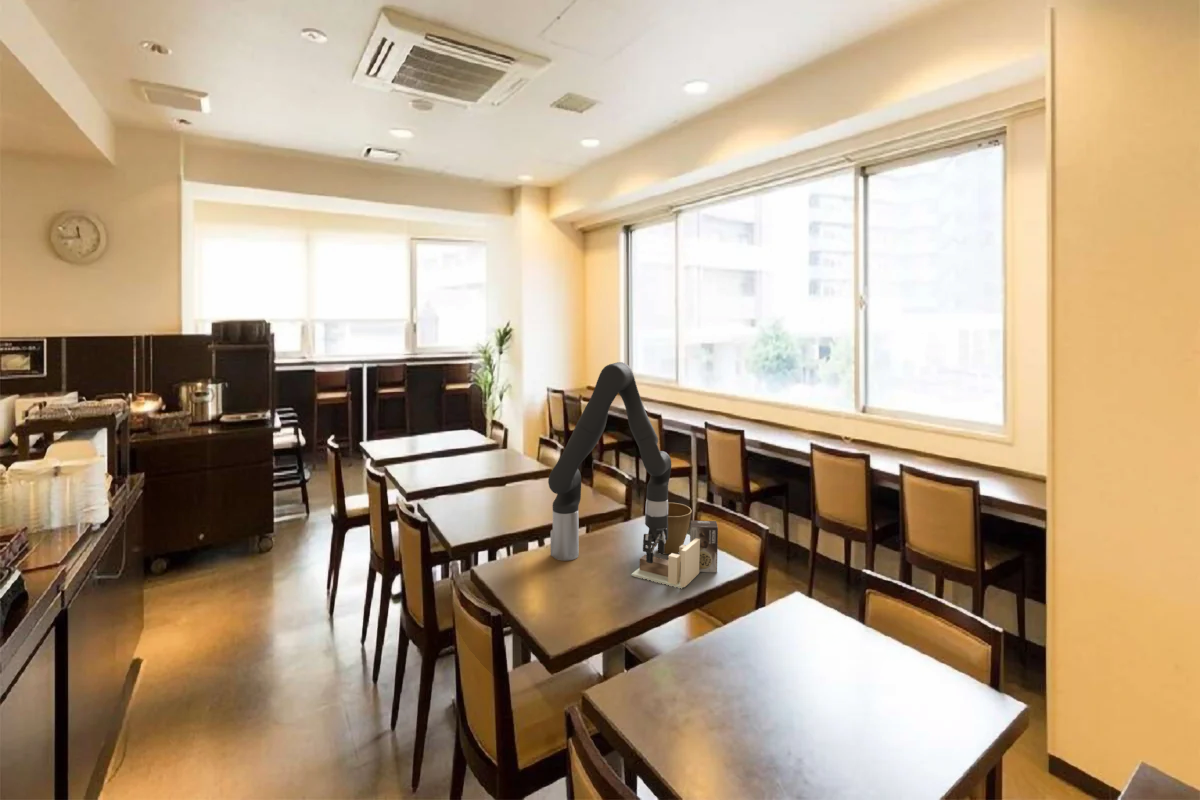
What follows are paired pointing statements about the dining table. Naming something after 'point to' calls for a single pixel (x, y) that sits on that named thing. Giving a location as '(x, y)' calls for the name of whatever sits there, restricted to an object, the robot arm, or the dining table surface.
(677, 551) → the plant pot
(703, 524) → the coffee box
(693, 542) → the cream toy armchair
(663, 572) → the rail
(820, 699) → the dining table surface
